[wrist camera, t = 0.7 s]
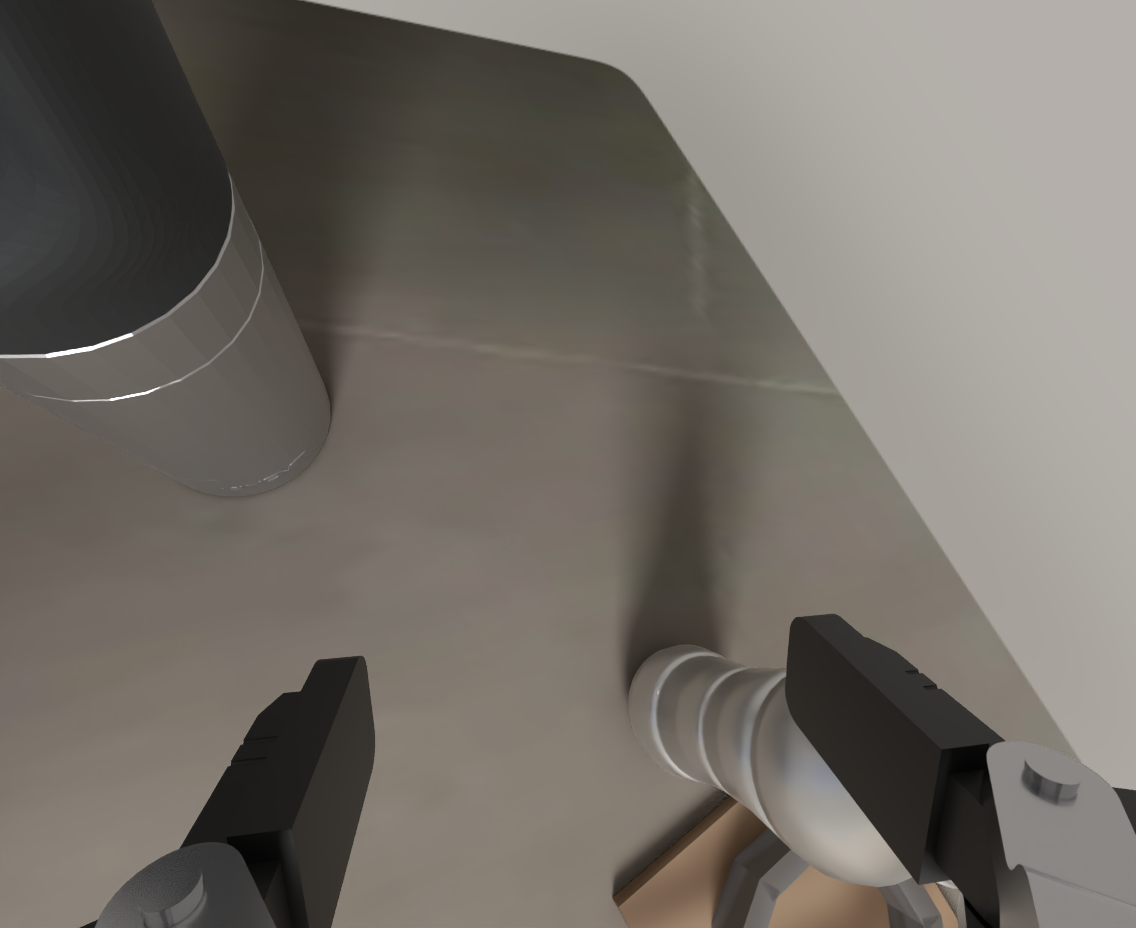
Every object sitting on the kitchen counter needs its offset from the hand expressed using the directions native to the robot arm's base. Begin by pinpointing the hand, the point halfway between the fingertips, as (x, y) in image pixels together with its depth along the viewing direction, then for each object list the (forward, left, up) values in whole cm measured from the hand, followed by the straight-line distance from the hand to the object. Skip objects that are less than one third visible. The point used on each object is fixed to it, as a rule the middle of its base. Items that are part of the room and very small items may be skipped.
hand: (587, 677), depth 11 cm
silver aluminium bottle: (+9, +8, -22) cm, 25 cm away
